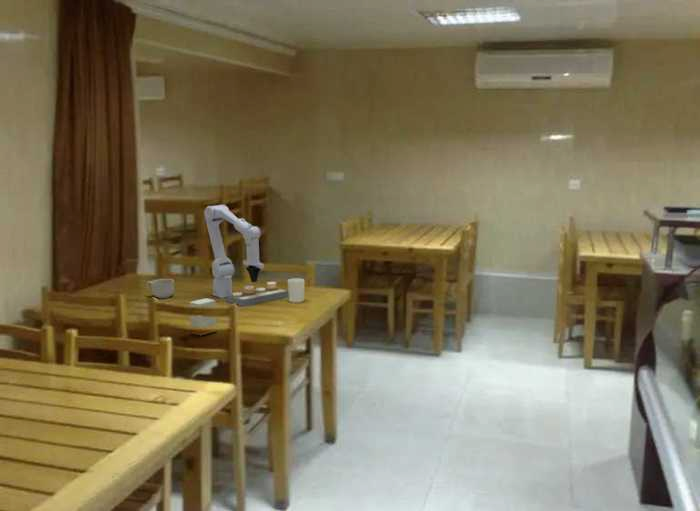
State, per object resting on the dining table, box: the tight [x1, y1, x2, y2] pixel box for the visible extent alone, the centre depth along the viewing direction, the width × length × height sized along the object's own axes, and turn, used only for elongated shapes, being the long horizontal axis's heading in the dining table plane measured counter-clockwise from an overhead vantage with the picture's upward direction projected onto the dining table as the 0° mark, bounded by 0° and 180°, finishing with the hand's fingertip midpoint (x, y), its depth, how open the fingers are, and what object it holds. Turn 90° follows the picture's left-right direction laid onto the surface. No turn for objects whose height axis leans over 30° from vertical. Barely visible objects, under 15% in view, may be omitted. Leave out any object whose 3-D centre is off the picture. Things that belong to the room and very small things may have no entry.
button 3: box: [255, 287, 266, 293], centre depth 318 cm, size 4×4×4 cm
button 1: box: [232, 291, 243, 298], centre depth 309 cm, size 4×4×4 cm
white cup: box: [287, 277, 306, 304], centre depth 309 cm, size 8×8×10 cm
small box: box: [188, 298, 218, 328], centre depth 259 cm, size 8×6×13 cm
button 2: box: [243, 285, 255, 295], centre depth 313 cm, size 4×4×4 cm
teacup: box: [146, 278, 175, 299], centre depth 323 cm, size 14×11×8 cm
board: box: [225, 287, 289, 308], centre depth 314 cm, size 14×26×3 cm, turn 132°
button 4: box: [266, 281, 277, 291], centre depth 322 cm, size 4×4×4 cm
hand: (254, 281), depth 309 cm, fingers closed
